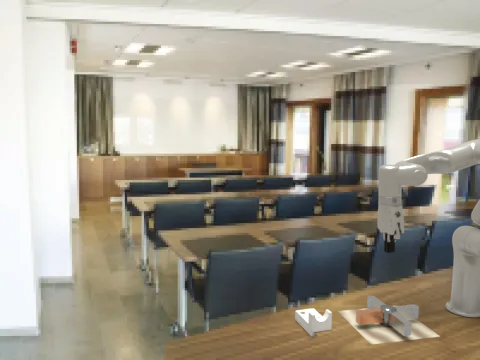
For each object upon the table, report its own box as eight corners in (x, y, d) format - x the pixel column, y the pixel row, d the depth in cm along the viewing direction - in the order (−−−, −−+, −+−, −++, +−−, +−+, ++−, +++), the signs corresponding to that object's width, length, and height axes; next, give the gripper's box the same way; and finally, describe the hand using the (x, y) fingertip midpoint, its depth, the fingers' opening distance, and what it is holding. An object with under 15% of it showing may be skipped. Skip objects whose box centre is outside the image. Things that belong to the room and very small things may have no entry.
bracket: (331, 334, 140) (332, 312, 139) (311, 337, 138) (312, 315, 137) (313, 317, 152) (313, 297, 151) (295, 320, 150) (295, 299, 149)
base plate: (397, 309, 159) (397, 304, 159) (440, 340, 136) (440, 335, 135) (337, 315, 154) (337, 310, 154) (371, 348, 131) (371, 343, 130)
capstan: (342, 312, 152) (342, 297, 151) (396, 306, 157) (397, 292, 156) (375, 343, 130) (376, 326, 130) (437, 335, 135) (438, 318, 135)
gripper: (412, 203, 141) (412, 257, 144) (387, 196, 156) (387, 245, 158) (392, 205, 140) (392, 259, 142) (368, 198, 154) (368, 247, 156)
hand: (389, 251), depth 150 cm, fingers closed
